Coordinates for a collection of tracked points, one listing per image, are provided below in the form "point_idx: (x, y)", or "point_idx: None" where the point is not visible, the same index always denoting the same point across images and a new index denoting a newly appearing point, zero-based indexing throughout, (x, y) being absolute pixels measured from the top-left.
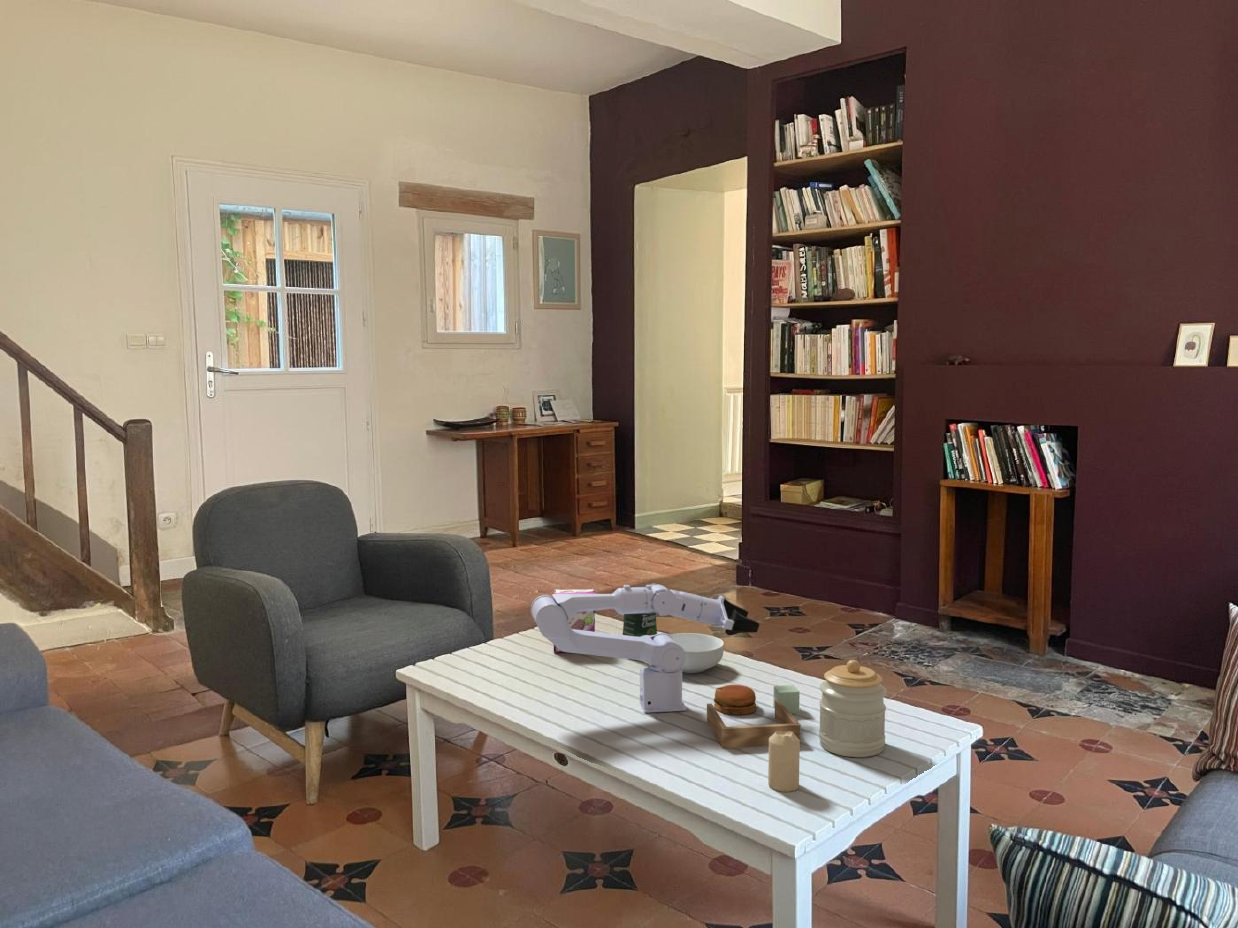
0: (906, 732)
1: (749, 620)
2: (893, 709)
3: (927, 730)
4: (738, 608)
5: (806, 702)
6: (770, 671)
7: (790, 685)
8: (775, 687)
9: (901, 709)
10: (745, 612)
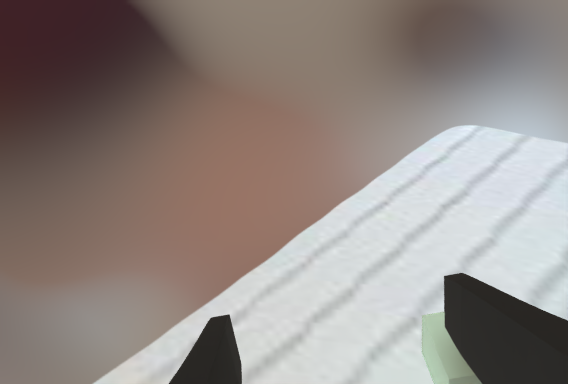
0: (518, 176)
1: (548, 316)
2: (398, 186)
3: (492, 157)
4: (216, 373)
5: (384, 315)
6: (139, 376)
7: (430, 323)
8: (468, 375)
9: (396, 178)
10: (230, 335)
